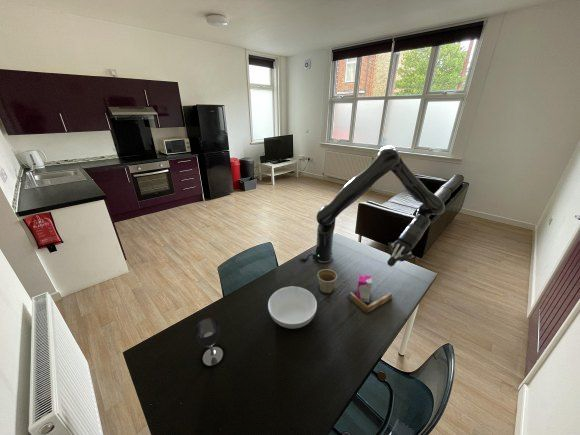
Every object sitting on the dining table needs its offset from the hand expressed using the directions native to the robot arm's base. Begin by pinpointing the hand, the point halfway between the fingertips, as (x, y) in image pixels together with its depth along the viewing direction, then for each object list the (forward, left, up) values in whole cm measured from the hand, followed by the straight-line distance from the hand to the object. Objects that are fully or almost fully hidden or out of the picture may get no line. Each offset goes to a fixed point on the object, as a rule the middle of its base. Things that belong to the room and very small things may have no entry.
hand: (389, 265), depth 110 cm
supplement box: (-11, -5, -16) cm, 20 cm away
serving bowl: (-43, -19, -16) cm, 50 cm away
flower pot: (-28, -1, -16) cm, 32 cm away
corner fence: (-7, -5, -16) cm, 18 cm away
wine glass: (-70, -41, -16) cm, 83 cm away
